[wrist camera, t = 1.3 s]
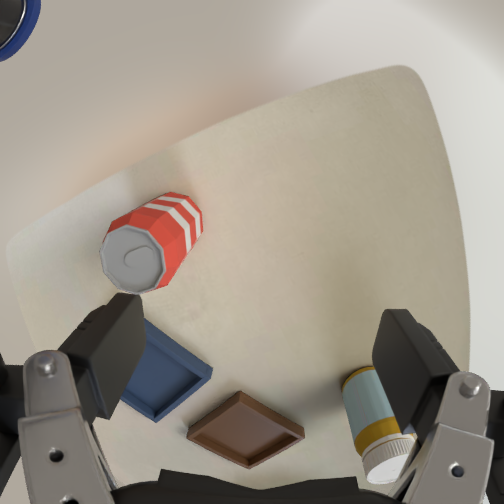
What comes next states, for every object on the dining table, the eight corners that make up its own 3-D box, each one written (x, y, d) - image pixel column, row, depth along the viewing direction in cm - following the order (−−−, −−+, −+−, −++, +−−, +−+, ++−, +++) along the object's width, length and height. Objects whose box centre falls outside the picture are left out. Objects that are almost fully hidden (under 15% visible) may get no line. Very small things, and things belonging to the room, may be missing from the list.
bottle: (330, 389, 39) (349, 480, 25) (367, 355, 37) (403, 445, 23) (363, 406, 41) (386, 489, 26) (398, 376, 39) (435, 457, 24)
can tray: (85, 360, 40) (79, 368, 38) (126, 303, 36) (119, 311, 34) (159, 413, 42) (156, 423, 40) (213, 368, 39) (210, 378, 37)
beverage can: (213, 237, 33) (188, 286, 22) (160, 256, 34) (116, 309, 23) (191, 182, 31) (151, 204, 20) (138, 205, 32) (80, 238, 21)
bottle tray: (188, 428, 43) (186, 438, 41) (240, 390, 40) (239, 401, 38) (249, 460, 46) (248, 469, 44) (304, 428, 42) (305, 438, 40)
